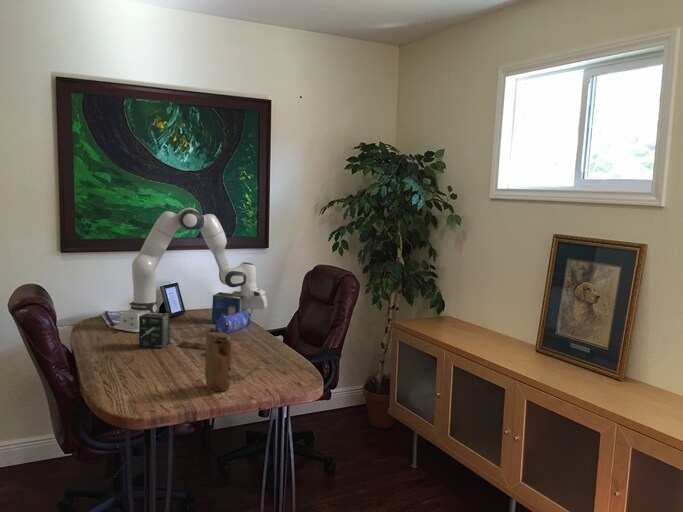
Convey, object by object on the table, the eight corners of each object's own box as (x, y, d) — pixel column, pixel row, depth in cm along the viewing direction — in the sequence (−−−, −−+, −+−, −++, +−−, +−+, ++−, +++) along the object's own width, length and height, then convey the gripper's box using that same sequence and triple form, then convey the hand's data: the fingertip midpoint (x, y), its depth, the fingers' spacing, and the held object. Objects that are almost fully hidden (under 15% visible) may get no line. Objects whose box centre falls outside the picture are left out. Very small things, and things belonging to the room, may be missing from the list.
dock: (180, 346, 257) (180, 341, 256) (211, 332, 285) (211, 327, 284) (213, 350, 253) (213, 345, 252) (240, 335, 281) (240, 330, 280)
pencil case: (227, 336, 279) (227, 317, 278) (213, 334, 282) (213, 315, 281) (251, 327, 299) (251, 310, 298) (238, 325, 302) (238, 308, 301)
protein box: (217, 319, 314) (219, 291, 312) (244, 322, 311) (245, 294, 310) (210, 322, 303) (212, 295, 302) (237, 326, 301) (239, 297, 299)
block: (203, 384, 207) (204, 331, 205) (222, 381, 211) (223, 329, 209) (213, 393, 198) (214, 338, 196) (233, 390, 202) (234, 336, 200)
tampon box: (170, 343, 261) (170, 313, 259) (162, 349, 252) (162, 317, 250) (147, 342, 262) (147, 311, 260) (138, 347, 253) (138, 315, 251)
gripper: (228, 291, 305) (229, 316, 307) (263, 293, 300) (264, 318, 302) (233, 289, 311) (234, 314, 313) (268, 291, 306) (268, 316, 308)
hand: (249, 316), depth 307 cm, fingers closed
